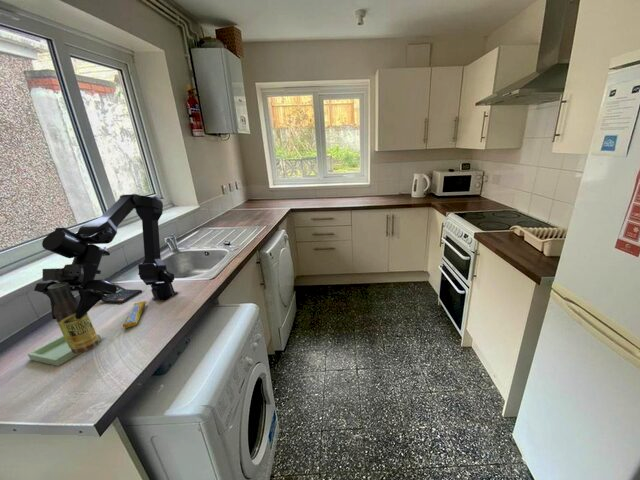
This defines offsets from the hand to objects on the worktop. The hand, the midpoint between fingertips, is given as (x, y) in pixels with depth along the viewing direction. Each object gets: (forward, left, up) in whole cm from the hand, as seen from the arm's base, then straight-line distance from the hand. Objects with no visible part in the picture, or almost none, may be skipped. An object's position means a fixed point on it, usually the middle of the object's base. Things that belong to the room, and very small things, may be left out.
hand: (66, 318), depth 76 cm
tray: (-2, -10, -13) cm, 17 cm away
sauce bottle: (-1, 0, -11) cm, 11 cm away
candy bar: (-21, -6, -13) cm, 25 cm away
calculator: (-31, -27, -13) cm, 43 cm away
